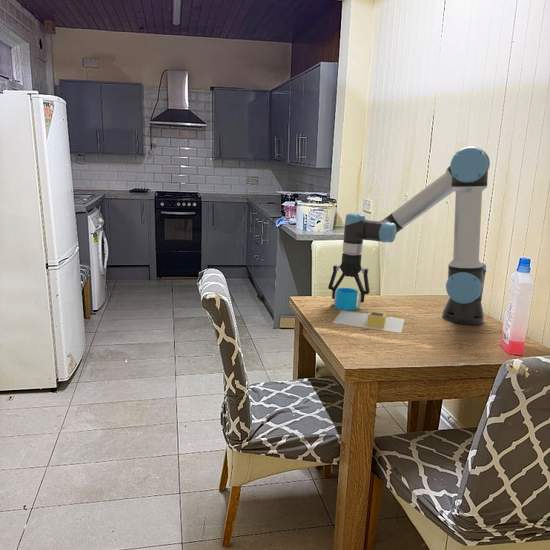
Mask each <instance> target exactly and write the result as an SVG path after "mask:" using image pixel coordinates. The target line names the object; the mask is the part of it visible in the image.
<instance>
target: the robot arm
mask: <svg viewBox="0 0 550 550" xmlns="http://www.w3.org/2000/svg"><path fill="white" fill-rule="evenodd" d="M490 165H491V161H490V158H489V155H488V154H487V152H486V151H485V150H483V149H482V148H480V147H477V146H466V147H462V148H460V149H459V150H458V151H457V152H455V154H454V155H453V156H452V158H451V161H450V165H449V166H448V167H446V169H445V170H446V171H445V172H444V173H443V174H442V175H440V176H439V177H438V178H437V179H435V180H434V181H433V182H431V183H430V184H428V185H427V186H426V187H425V188H424V189H422V190H421V191H419V192H417V194H415V195H414V196H413V197H411V198H410V199H409V200H407V201H406V202H405V203H404V204H402V205H400V206H399V207H398V208H397V209H395V210H394V211H393V212H391V213H390V214H388V215H387V216H386V217H384V218H383V219H382V220H379V221H378V220H368V219H366V215H365V214H362V213H355V212H354V213H352V212H351V213H347V214H346V215H345V220H344V227H343V228H344V230H343V243H342V255H341V263H340V264H339V265H337V264H334V265H333V266H332V274H331V277H330V281H329V283H328V287H327V288H328V290H331V291H332V292H331V293H332V294H331V300H332V299H333V306H336V293H337V289H338V288H339V286H340V284H341V283H342V281H343V280H344V278H345V277H349V278H354V280H355V282H356V286H357V288H358V290H359V292H360V293H359V294H358V301H357V302H358V304H357V309H361V306H362V303H363V304H364V302H365V297H366V295H369V294H370V292H371V290H370V285H369V284H370V283H369V276H368V273H369V269H368V267H367V268H363V267H362V264H361V263H362V256H363V255H362V254H363V243H364V240H365V241H373V242H374V241H375V242H381V243H393V242H394V241H395V240H396V235H397V234H398V233H399V232H400V231H402V230H403V229H404V228H406V227H407V226H408V225H410V224H411V223H412V222H414V221H415V220H417V219H418V218H419V217H420V216H422V215H424V214H425V213H426V212H427V211H429V210H430V209H432V208H433V207H434V206H436V205H438V204H439V203H440V202H442V201H443V200H444V199H446V198H447V197H449V196H450V195H451V194H452V193H454V192H455V198H454V199H455V200H454V201H455V202H454V203H455V204H454V230H453V258H452V260H451V261H450V262H449V263H448V269H447V280H446V282H445V290H446V293H447V295H448V296H449V297H448V300H447V302H446V304H445V306H444V308H443V309H442V318H443V319H445V320H446V321H449V322H452V323H455V324H458V325H459V324H460V325H467V326H477V325H481V324H483V323H484V318H485V314H484V308H483V305H482V304H483V303H482V299H483V292H484V286H485V279H486V273H487V265H486V263H483V262H481V261H480V244H481V243H480V240H481V225H482V224H481V223H482V221H481V220H482V205H483V204H482V202H483V191H484V190H485V189H487V187H488V179H489V169H490ZM339 270H341V272H342V274H341V275H340V277H339V278H338V280H337V281H336V283H335V285H334V282H335V280H336V277H337V273H338V271H339ZM360 272H361V273H362V274H363V281H364V286H363V284H362V280H361V278H360Z"/></svg>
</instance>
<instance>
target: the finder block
mask: <svg viewBox="0 0 550 550" xmlns="http://www.w3.org/2000/svg"><path fill="white" fill-rule="evenodd" d="M367 314H368V320H367V326H373V327H380V328H384V327H385V324H386V318H387V317H388V312H385V311H378V310H377V311H376V310H370V311H369V312H368V313H367Z"/></svg>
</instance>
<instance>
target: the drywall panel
mask: <svg viewBox="0 0 550 550" xmlns="http://www.w3.org/2000/svg"><path fill="white" fill-rule="evenodd" d="M368 314H369V313H364V312H356V311H352V310H342V309H340V312H339V313H338V315H337V316H336V317H335V319H334V320H333V321H332V324H338V325H345V326H351V327H358V328H363V329H364V328H365V329H371V330H372V329H373V330H378V331H384V332H391V333H399V334H402V330H403V326H404V323H405V318H398V317H393V316H392V317H391V316H387V318H386V324H385V327H384V328H380V327H373V326H367V320H368Z"/></svg>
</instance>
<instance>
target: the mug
mask: <svg viewBox="0 0 550 550" xmlns="http://www.w3.org/2000/svg"><path fill="white" fill-rule="evenodd" d="M336 290H337V293H336V305H335V308H336V309H339V310H343V311H354V310H356V309H357V302H358V301H357V300H358V290H357V289H355V288H350V287H338V288H337V289H336Z"/></svg>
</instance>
